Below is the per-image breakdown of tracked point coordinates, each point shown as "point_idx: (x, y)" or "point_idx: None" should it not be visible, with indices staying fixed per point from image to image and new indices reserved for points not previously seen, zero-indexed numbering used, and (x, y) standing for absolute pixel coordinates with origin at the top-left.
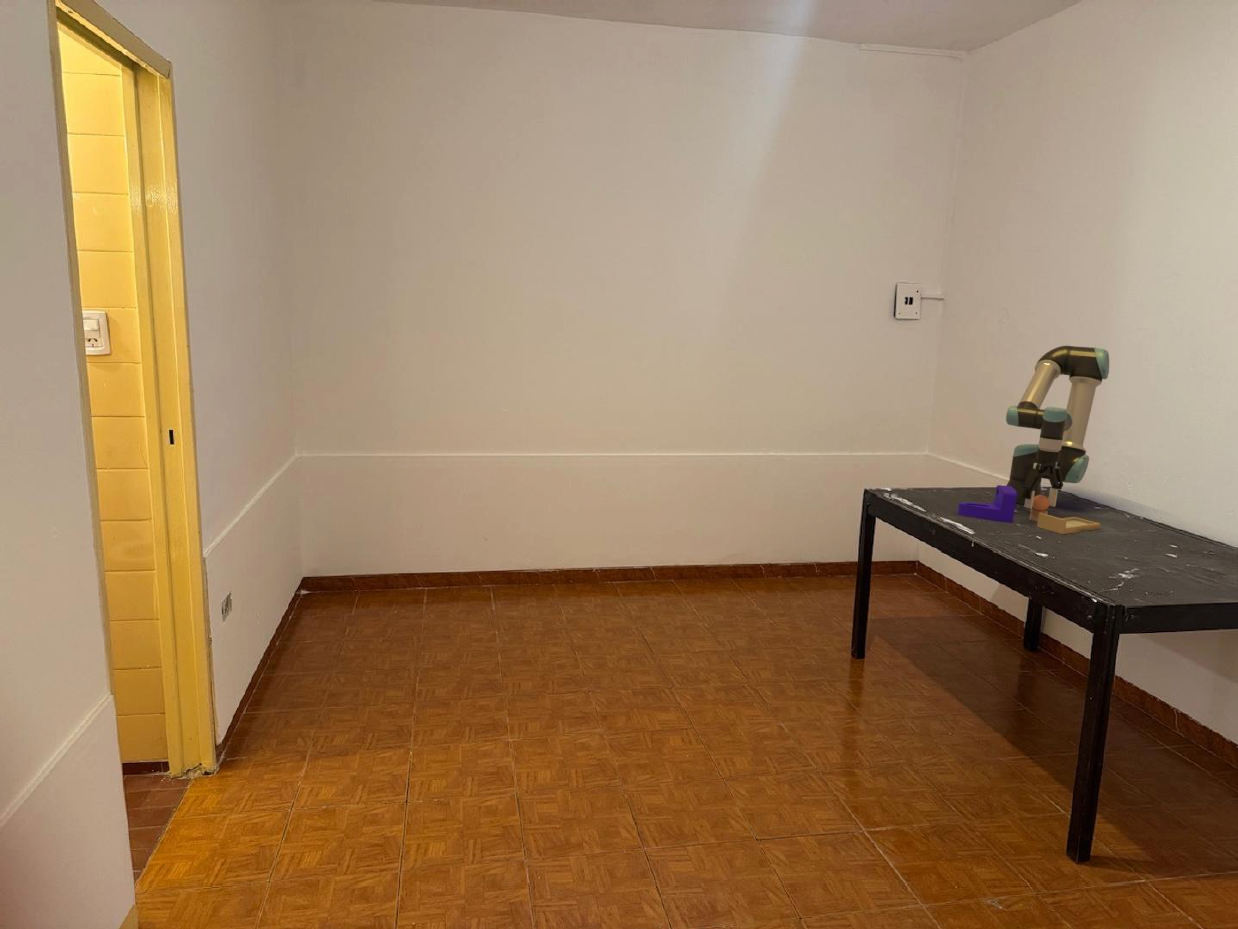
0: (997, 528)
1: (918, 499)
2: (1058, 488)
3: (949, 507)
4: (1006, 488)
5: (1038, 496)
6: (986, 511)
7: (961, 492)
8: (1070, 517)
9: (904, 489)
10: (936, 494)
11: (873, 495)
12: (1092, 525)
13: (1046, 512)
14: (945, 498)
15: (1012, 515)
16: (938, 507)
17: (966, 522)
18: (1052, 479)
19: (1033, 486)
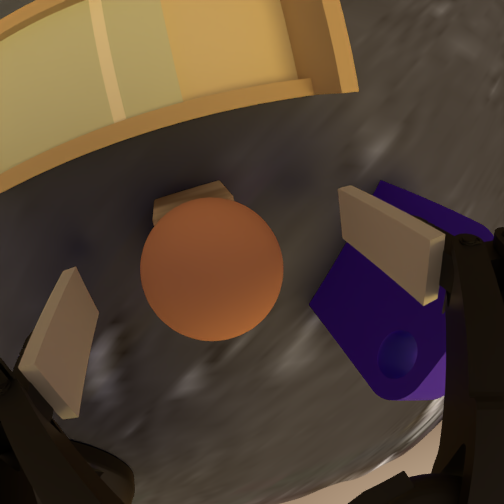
0: (478, 118)
1: (403, 419)
2: (11, 375)
3: None
4: None
5: (265, 292)
6: None
7: (221, 501)
8: (7, 184)
9: (349, 477)
10: (312, 473)
11: None
12: (5, 18)
13: (165, 212)
14: (325, 452)
15: (406, 192)
16: None
17: (498, 202)
18: (94, 484)
19: (484, 257)
